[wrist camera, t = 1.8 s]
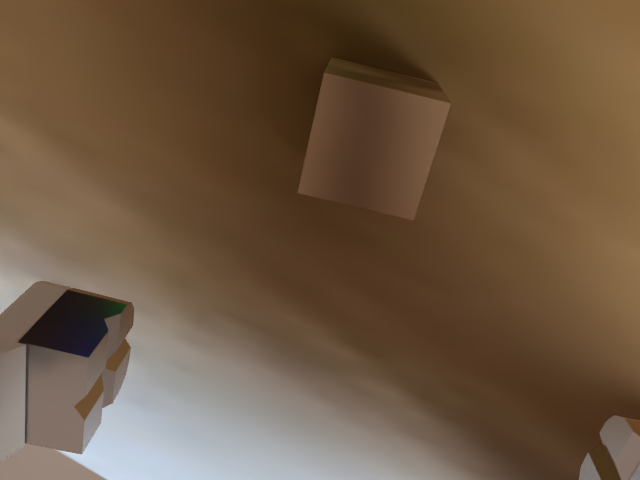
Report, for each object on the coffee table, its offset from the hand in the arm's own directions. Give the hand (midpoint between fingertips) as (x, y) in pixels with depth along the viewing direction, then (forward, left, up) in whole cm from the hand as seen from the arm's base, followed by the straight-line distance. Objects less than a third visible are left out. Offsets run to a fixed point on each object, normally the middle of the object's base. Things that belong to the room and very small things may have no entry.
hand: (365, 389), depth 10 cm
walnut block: (0, 0, -20) cm, 20 cm away
